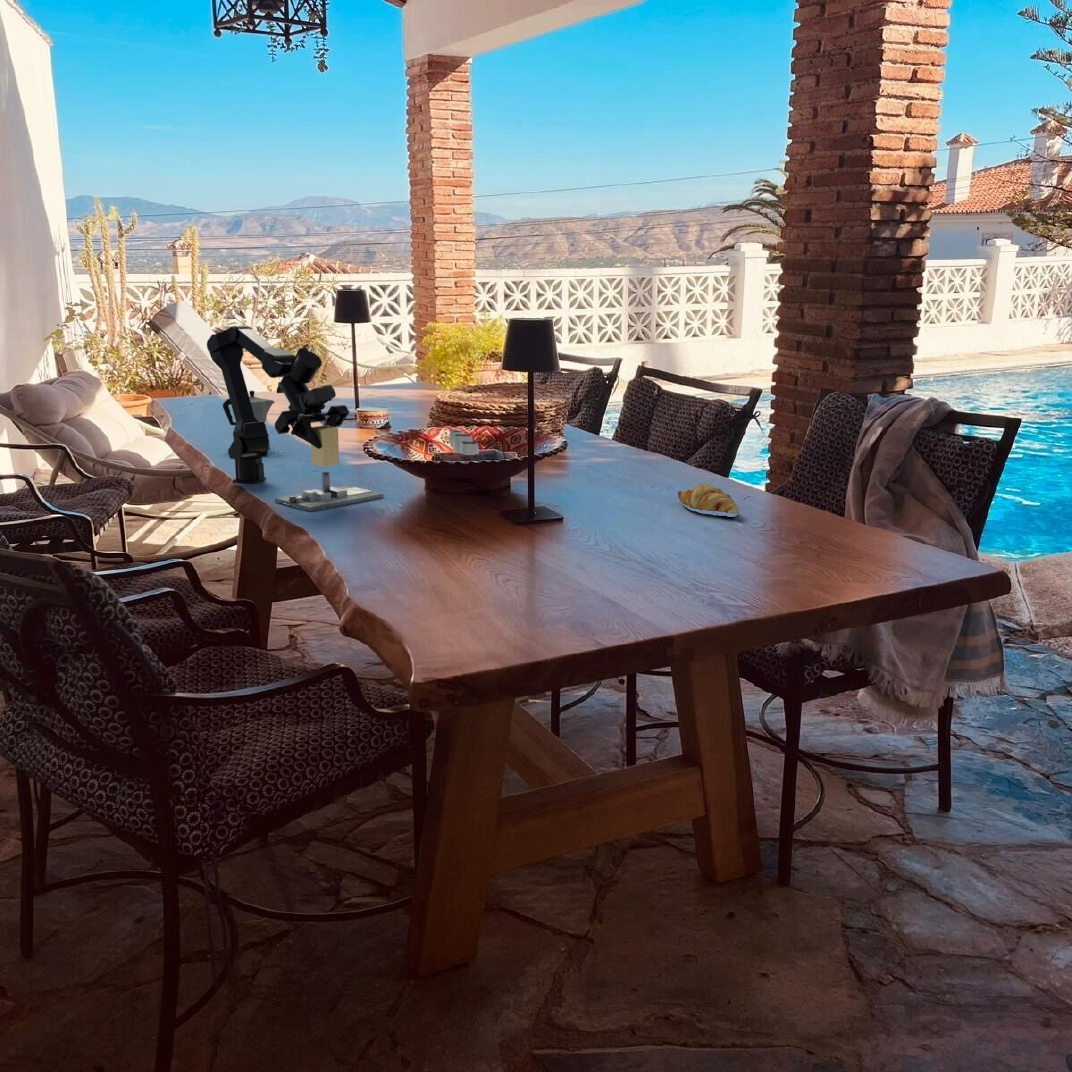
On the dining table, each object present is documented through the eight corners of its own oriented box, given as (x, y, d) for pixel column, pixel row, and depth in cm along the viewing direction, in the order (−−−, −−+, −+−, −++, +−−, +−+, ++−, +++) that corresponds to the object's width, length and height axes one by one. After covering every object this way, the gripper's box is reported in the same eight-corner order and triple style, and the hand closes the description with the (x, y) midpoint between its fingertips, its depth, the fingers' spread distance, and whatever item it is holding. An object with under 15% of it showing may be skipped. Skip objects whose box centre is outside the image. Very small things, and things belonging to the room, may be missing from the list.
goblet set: (482, 489, 269) (483, 438, 266) (461, 490, 267) (461, 439, 264) (450, 469, 295) (450, 423, 291) (431, 470, 292) (431, 424, 289)
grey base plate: (272, 502, 250) (271, 473, 248) (347, 489, 266) (347, 462, 264) (307, 512, 241) (306, 482, 239) (383, 497, 257) (382, 469, 255)
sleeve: (311, 464, 251) (310, 427, 248) (327, 462, 254) (326, 425, 252) (323, 467, 248) (322, 429, 245) (339, 464, 251) (338, 427, 249)
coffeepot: (277, 445, 327) (274, 388, 323) (276, 451, 319) (273, 392, 314) (226, 446, 324) (222, 389, 320) (224, 452, 315) (220, 392, 311)
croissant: (745, 533, 243) (759, 502, 243) (718, 518, 237) (733, 486, 237) (685, 513, 260) (699, 484, 260) (659, 498, 254) (672, 469, 254)
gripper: (279, 376, 241) (309, 429, 237) (343, 371, 255) (373, 421, 250) (261, 407, 248) (290, 458, 244) (325, 400, 262) (353, 449, 257)
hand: (328, 446), depth 249 cm, fingers closed on sleeve, 5 cm apart
